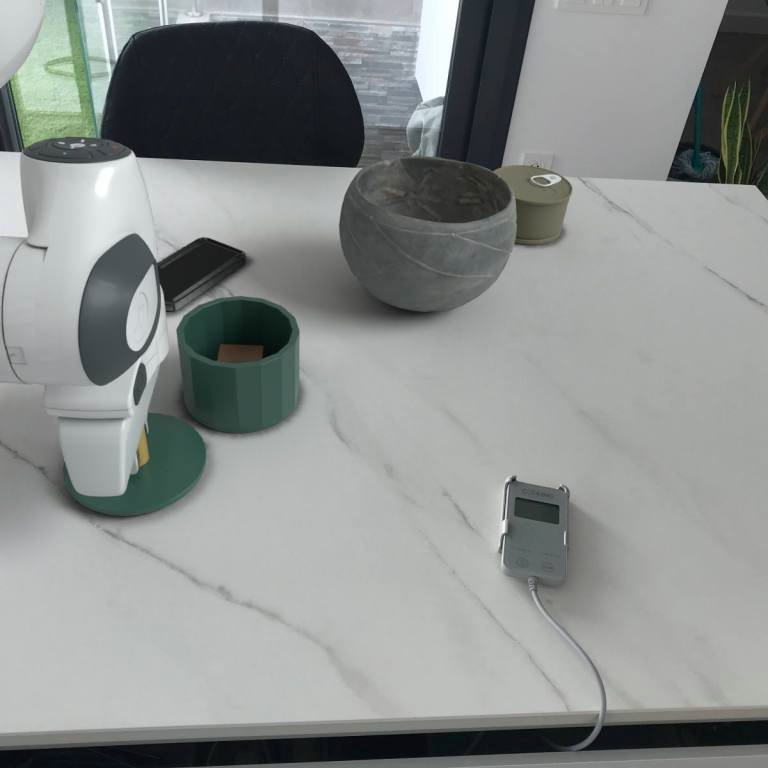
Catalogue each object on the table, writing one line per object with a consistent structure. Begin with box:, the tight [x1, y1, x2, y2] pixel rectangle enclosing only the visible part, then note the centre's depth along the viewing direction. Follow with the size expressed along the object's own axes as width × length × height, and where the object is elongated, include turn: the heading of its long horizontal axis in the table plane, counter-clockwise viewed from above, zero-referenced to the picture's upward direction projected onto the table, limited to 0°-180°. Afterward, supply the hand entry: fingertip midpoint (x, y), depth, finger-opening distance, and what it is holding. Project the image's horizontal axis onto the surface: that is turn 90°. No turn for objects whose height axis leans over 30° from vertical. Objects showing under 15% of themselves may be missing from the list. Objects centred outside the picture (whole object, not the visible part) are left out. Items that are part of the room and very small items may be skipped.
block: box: [217, 344, 264, 364], centre depth 80 cm, size 4×4×4 cm
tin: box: [175, 295, 301, 434], centre depth 79 cm, size 12×12×8 cm
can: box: [492, 164, 573, 246], centre depth 114 cm, size 12×12×7 cm
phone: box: [157, 236, 247, 312], centre depth 98 cm, size 8×1×15 cm
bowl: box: [338, 155, 517, 313], centre depth 95 cm, size 21×21×15 cm
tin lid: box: [62, 412, 207, 517], centre depth 71 cm, size 13×13×5 cm
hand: (133, 453), depth 72 cm, fingers closed on tin lid, 2 cm apart
